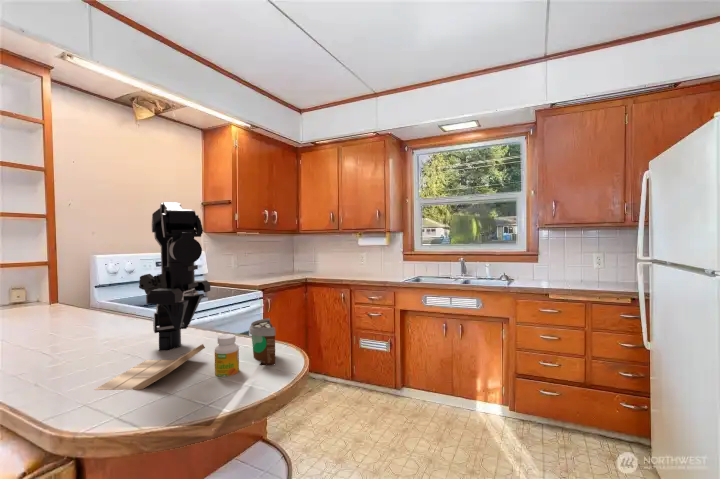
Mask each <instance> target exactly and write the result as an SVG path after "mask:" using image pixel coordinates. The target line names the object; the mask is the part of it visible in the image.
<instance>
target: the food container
mask: <svg viewBox="0 0 720 479" xmlns="http://www.w3.org/2000/svg"><path fill="white" fill-rule="evenodd" d="M248 334H250V335H251V343H252V344H251V345H252V354H253V359H255V360H257V361H261V362H260V363H259V364H258V365H259V366H275V365H276V326H275V327H274V326H273V324H272V323H271V318H262V319H261V318H260V319H258V320H255V321H252V322H251V323H250V326H249V330H248ZM274 364H275V365H274Z"/></svg>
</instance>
